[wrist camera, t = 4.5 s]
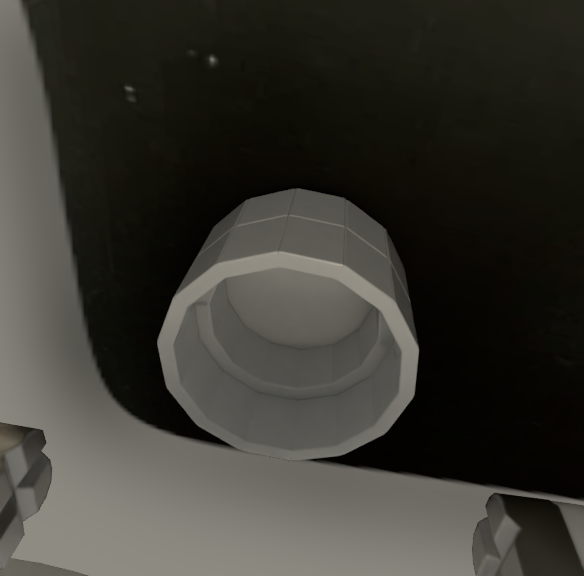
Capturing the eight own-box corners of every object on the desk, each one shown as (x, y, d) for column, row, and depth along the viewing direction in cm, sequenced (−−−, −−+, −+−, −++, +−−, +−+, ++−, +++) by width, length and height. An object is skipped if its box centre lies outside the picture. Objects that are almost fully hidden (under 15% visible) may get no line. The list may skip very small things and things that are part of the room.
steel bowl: (374, 373, 18) (379, 480, 14) (194, 336, 18) (151, 432, 14) (430, 209, 15) (458, 289, 11) (213, 162, 15) (163, 226, 11)
